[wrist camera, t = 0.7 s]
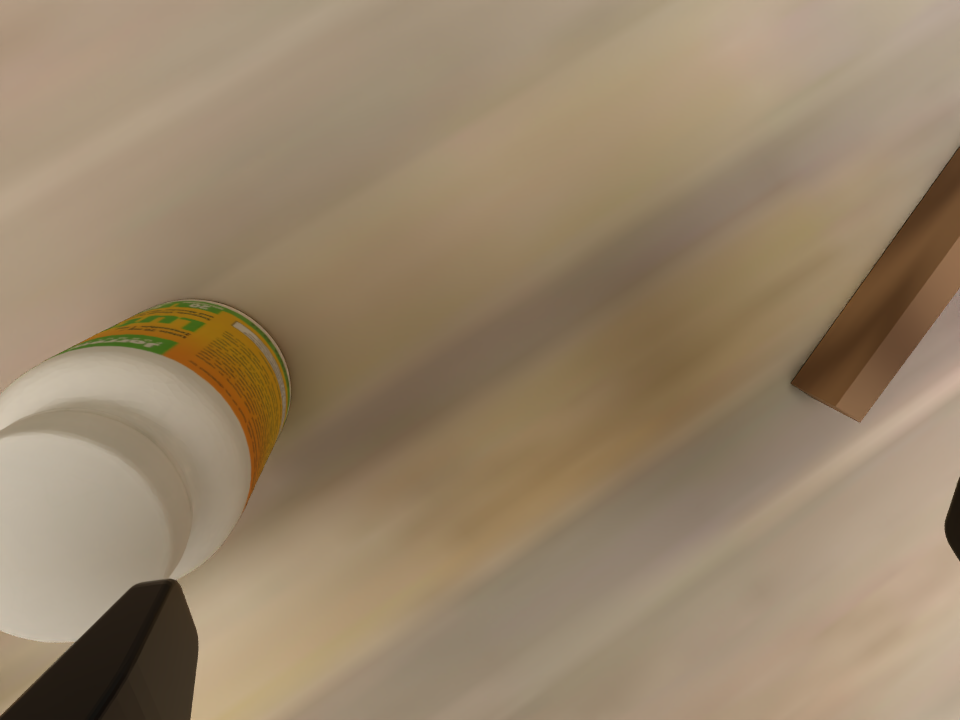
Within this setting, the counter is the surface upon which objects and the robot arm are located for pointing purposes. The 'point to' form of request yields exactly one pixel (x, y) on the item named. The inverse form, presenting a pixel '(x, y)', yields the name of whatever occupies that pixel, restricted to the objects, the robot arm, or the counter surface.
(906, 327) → the lane
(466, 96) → the counter surface
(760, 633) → the counter surface
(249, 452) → the supplement bottle
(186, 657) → the robot arm
